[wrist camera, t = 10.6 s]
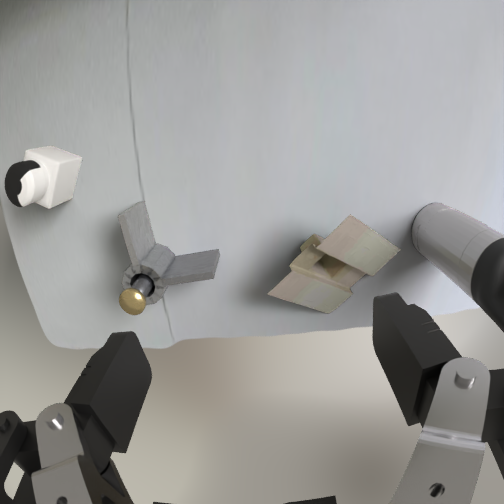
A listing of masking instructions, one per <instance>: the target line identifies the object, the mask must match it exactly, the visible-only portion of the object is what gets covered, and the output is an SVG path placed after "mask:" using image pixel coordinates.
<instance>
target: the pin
mask: <svg viewBox="0 0 504 504" xmlns="http://www.w3.org/2000/svg"><path fill="white" fill-rule="evenodd" d="M153 285H154V281H153V280H152V279H151V278H150V277H149V276H148V275H146V274H143V273H141V274H140V275H139V277H138V278H137V280H136V281H135V282H134V284H133V285H132V286H131V288H127V289H125V290H124V291H123V292H122V293H121V295H120V297H119V303H120V306H121V308H122V309H123V310H124V311H125V312H127V313H128V314H131V315H138V314H140V313H142V312H143V310H144V308H145V306H146V297H147V295H148V294H149V292H150V290H151V289H152V287H153Z"/></svg>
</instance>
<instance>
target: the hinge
mask: <svg viewBox="0 0 504 504" xmlns="http://www.w3.org/2000/svg"><path fill="white" fill-rule="evenodd" d="M118 219H119V222H120V226H121V229H122V233H123V236H124V240H125V243H126V246H127V250H128V253H129V256H130V259H131V262H132V263H131V265H130V266H129V267H128V268H127V269H126V271H125V272H124V273H123V279H122V285H123V288H124V290H125V289H127V288H131V286H132V285H133V284H134V282H135V281H136V280H137V278H138V277H139V275H140V274H141V273H143V274H146V275H148V276H149V277H150V278H151V279H152V280H153V281H154V285H153V287H152V289H151V290H150V292H149V294H148V295H147V297H146V305H149V304H155V303H156V302H157V301H158V300H160V299H161V298H162V297H163V295H164V293H165V291H166V289H167V287H168V285H173V284H180V283H187V282H194V281H201V280H208V279H214V276H215V272H216V268H217V264H218V261H219V257H220V253H219V249H216V250H210V251H204V252H198V253H192V254H186V255H180V256H175V254H174V253H173V252H172V251H171V250H170V249H169V248H168V247H166V246H163V245H161V244H156V242H155V238H154V235H153V231H152V227H151V223H150V220H149V216H148V212H147V208H146V204H145V201H141V202H138V203H137V204H135V205H134V206H132V207H131V208H129V209H128V210H126V211H125V212H123V213H122V214H120V215H119V216H118Z"/></svg>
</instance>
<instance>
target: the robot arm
mask: <svg viewBox="0 0 504 504" xmlns="http://www.w3.org/2000/svg"><path fill="white" fill-rule="evenodd" d="M412 241H413V244H414V246H415V248H416V249H417V250H418V251H419V252H420V253H421V254H422V255H423V256H424V257H426V258H427V259H428V260H429V261H430V262H431V263H432V264H434V265H435V266H436V267H437V268H438V269H439V270H441V271H442V272H443V273H444V274H445V275H446V276H447V277H449V278H450V279H451V280H452V281H453V282H454V283H455V284H456V285H458V286H459V287H460V288H461V289H462V290H463V291H464V292H465V293H466V294H467V295H469V296H470V297H471V298H472V299H473V300H474V301H475V302H476V303H477V304H478V305H479V306H480V307H481V308H482V309H483V310H484V311H485V313H486V314H487V315H488V316H489V317H490V318H491V319H492V320H493V321H494V322H495V323H496V324H497V325H498V326H499V327H500V329H501V330H502V331H503V332H504V235H503V234H501V233H499V232H498V231H496V230H494V229H492V228H490V227H488V226H487V225H486V224H484V223H482V222H480V221H478V220H476V219H474V218H472V217H470V216H468V215H466V214H464V213H462V212H460V211H458V210H456V209H453V208H451V207H449V206H446V205H444V204H442V203H432V204H429V205H427V206H426V207H424V208H423V209H422V210H421V211H420V212H419V213H418V215H417V216H416V218H415V220H414V223H413V226H412ZM373 345H374V349H375V353H376V355H377V357H378V359H379V361H380V363H381V366H382V368H383V370H384V372H385V374H386V376H387V378H388V381H389V383H390V385H391V387H392V390H393V392H394V394H395V396H396V398H397V401H398V403H399V406H400V408H401V410H402V412H403V415H404V417H405V419H406V422H407V424H408V426H411V425H414V424H417V423H421V426H422V428H423V430H422V432H421V435H420V437H419V440H418V442H417V445H416V447H415V450H414V452H413V454H412V457H411V459H410V461H409V464H408V466H407V469H406V470H405V473H404V475H403V477H402V479H401V481H400V484H399V485H398V487H397V489H396V491H395V493H394V495H393V497H392V499H391V501H390V503H389V504H470V502H471V499H472V496H473V493H474V490H475V486H476V483H477V480H478V476H479V472H480V468H481V464H482V460H483V456H484V451H485V442H488V444H489V446H490V448H491V451H492V453H493V455H494V457H495V460H496V462H497V464H498V467H499V469H500V471H501V474H502V476H503V479H504V369H497V370H488V369H487V367H486V366H485V365H484V364H483V363H481V362H480V361H478V360H475V359H473V358H467V357H462V356H461V355H460V354H459V352H458V351H457V350H456V348H455V347H454V346H453V344H452V343H451V342H450V340H449V339H448V338H447V337H446V335H445V334H444V333H443V331H441V330H440V328H439V326H438V325H437V324H436V323H435V322H434V320H433V319H432V318H431V316H430V315H429V314H428V313H427V311H426V310H424V309H422V308H420V307H418V306H417V305H415V304H411V305H407V304H406V303H405V301H404V300H403V299H402V298H401V296H400V295H399V294H398V293H391V294H386V295H382V296H377V297H375V298H374V302H373ZM151 379H152V373H151V368H150V364H149V362H148V360H147V358H146V356H145V354H144V352H143V349H142V347H141V345H140V342H139V340H138V338H137V336H136V334H135V333H134V332H132V331H129V332H117V333H112V334H111V335H110V337H109V338H108V340H107V342H106V343H105V345H104V346H103V347H102V348H101V349H99V350H98V351H97V352H96V353H95V354H94V355H93V356H92V357H91V359H90V360H89V362H88V363H87V365H86V368H84V370H83V371H82V373H81V376H79V378H78V380H77V381H76V383H75V385H74V386H73V388H72V390H71V391H70V393H69V395H68V397H67V398H66V400H65V402H64V403H56V404H53V405H51V406H48V407H47V408H45V409H44V410H43V411H42V412H41V413H40V414H39V416H38V418H37V420H36V421H29V422H22V421H21V419H20V418H19V417H18V415H17V414H16V413H15V412H13V411H4V412H2V413H0V504H134V503H133V501H132V500H131V497H130V495H129V494H128V491H127V489H126V488H125V486H124V483H123V481H122V479H121V477H120V475H119V473H118V470H117V468H116V466H115V464H114V462H113V460H112V459H111V458H110V456H111V454H112V452H119V453H126V451H127V448H128V445H129V442H130V440H131V437H132V434H133V431H134V428H135V425H136V422H137V419H138V417H139V414H140V410H141V408H142V405H143V403H144V400H145V397H146V394H147V391H148V389H149V386H150V383H151ZM13 462H15V463H16V464H17V465H18V466H19V467H20V468H21V469H22V470H23V471H24V475H23V477H22V479H21V482H20V484H19V487H18V489H17V492H16V494H15V496H14V499H13V500H12V499H11V498H10V497H9V496H8V495H7V494H6V492H5V489H4V482H5V480H6V477H7V475H8V473H9V471H10V468H11V466H12V464H13ZM153 504H169V503H158V502H153ZM285 504H337V503H336V498H335V496H330V497H324V498H319V499H312V500H305V501H297V502H289V503H285Z"/></svg>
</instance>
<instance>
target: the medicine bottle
mask: <svg viewBox="0 0 504 504" xmlns="http://www.w3.org/2000/svg"><path fill="white" fill-rule="evenodd" d="M82 159H83V158H82V157H80V156H78V155H75V154H72V153H70V152H67V151H64V150H62V149H59V148H56V147H54V146H46V147H40V148H34V149H28V150H26V152H25V156H24V161H22V162H18V163H15V164H13V165H12V166H11V167H10V168H9V170H8V172H7V174H6V178H5V190H6V194H7V196H8V198H9V200H10V201H11V202H12V203H13V204H14V205H16V206H18V207H24V206H26V205H29V204H31V203H33V202H35V203H37V204H39V205H41V206H43V207H46V208H48V209H51V208H53V207H55V206H57V205H59V204H61V203H63V202H66V201H68V200H70V199H72V198H73V195H74V190H75V186H76V182H77V178H78V174H79V170H80V167H81V163H82Z"/></svg>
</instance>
